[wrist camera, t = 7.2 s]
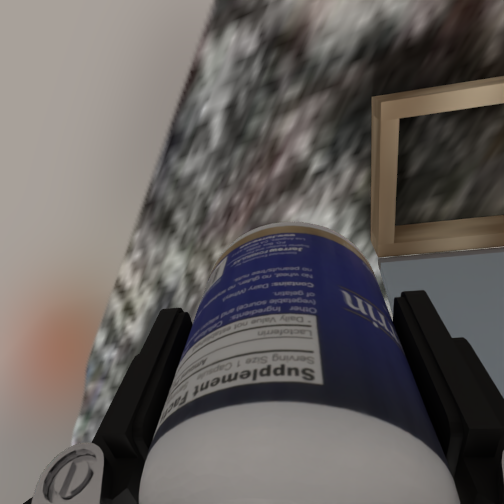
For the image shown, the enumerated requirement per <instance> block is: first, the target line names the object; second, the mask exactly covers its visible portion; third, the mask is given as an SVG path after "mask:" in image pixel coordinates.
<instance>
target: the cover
mask: <svg viewBox="0 0 504 504" xmlns="http://www.w3.org/2000/svg"><path fill="white" fill-rule="evenodd" d="M378 265H379V269H380V272H381V276H382V279H383V283H384V286H385V290H386V293H387V297H388V300H389V304H390V307H391V310H392V314H393V307H394V298H395V297H401V292H403V291H416V290H424V291H425V292H426V293H427V295H428V296H429V298H430V300H431V302H432V303H433V305H434V307H435V309H436V310H437V312H438V314H439V316H440V318H441V319H442V321H443V323H444V325H445V326H446V328H447V330H448V332H449V333H450V335H451V337H452V338H458V337H464V338H465V339H467V341H468V342H469V343H470V344H471V346H472V348H473V349H474V351H475V353H476V354H477V356H478V357H479V359H480V361H481V362H482V364H483V366H484V367H485V369H486V370H487V372H488V374H489V375H490V377H491V379H492V380H493V382H494V383H495V385H496V387H497V388H498V390H499V392H500V393H501V395H502V396H503V398H504V247H501V248H490V249H479V250H467V251H456V252H445V253H434V254H422V255H411V256H400V257H389V258H379V259H378Z"/></svg>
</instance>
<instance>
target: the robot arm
mask: <svg viewBox="0 0 504 504" xmlns="http://www.w3.org/2000/svg"><path fill="white" fill-rule="evenodd" d="M393 324H394V327H395V329H396V332H397V334H398V337H399V340H400V343H401V345H402V347H403V350H404V353H405V355H406V358H407V360H408V363H409V366H410V368H411V371H412V373H413V376H414V379H415V381H416V384H417V386H418V389H419V392H420V394H421V397H422V399H423V402H424V405H425V407H426V410H427V412H428V415H429V417H430V420H431V422H432V425H433V427H434V430H435V432H436V434H437V437H438V439H439V442H440V444H441V447H442V449H443V452H444V455H445V457H446V460H447V462H448V465H449V468H450V471H451V473H452V476H453V479H454V483H455V486H456V489H457V493H458V496H459V500H460V504H504V398H503V396H502V395H501V393H500V392H499V390H498V388H497V387H496V385H495V383H494V382H493V380H492V379H491V377H490V375H489V374H488V372H487V370H486V369H485V367H484V366H483V364H482V362H481V361H480V359H479V357H478V356H477V354H476V353H475V351H474V349H473V348H472V346H471V344H470V343H469V342H468V341H467V339H465V338H464V337H458V338H452V337H451V335H450V333H449V332H448V330H447V328H446V326H445V325H444V323H443V321H442V319H441V318H440V316H439V314H438V312H437V310H436V309H435V307H434V305H433V303H432V302H431V300H430V298H429V296H428V295H427V293H426V292H425V291H424V290H416V291H403V292H401V297H395V298H394V307H393ZM191 328H192V321H191V318H190V315H189V313H188V312H183V310H182V309H181V308H170V309H162V310H161V311H160V313H159V315H158V317H157V319H156V321H155V323H154V325H153V327H152V329H151V331H150V333H149V336H148V338H147V340H146V342H145V344H144V346H143V348H142V350H141V352H140V354H138V355H137V356H135V358H134V359H133V361H132V363H131V365H130V367H129V369H128V371H127V373H126V375H125V377H124V379H123V381H122V383H121V385H120V387H119V389H118V391H117V393H116V395H115V397H114V399H113V401H112V403H111V405H110V407H109V409H108V411H107V413H106V415H105V417H104V419H103V421H102V423H101V425H100V427H99V429H98V431H97V433H96V435H95V437H94V439H93V441H92V443H87V442H85V443H80V444H76V445H73V446H71V447H69V448H67V449H65V450H64V451H63V452H61V453H60V454H58V455H57V456H56V457H55V458H54V459H53V460H52V461H51V462H50V463H49V464H48V465H47V467H46V468H45V469H44V471H43V472H42V474H41V475H40V478H39V480H38V483H37V485H36V488H35V492H34V495H33V497H32V498H30V499H29V500H28V501H26V502H25V503H23V504H139V489H140V481H141V477H142V473H143V469H144V464H145V461H146V458H147V455H148V451H149V447H150V445H151V442H152V440H153V437H154V434H155V431H156V428H157V426H158V423H159V420H160V417H161V414H162V411H163V409H164V405H165V403H166V400H167V397H168V394H169V391H170V388H171V385H172V383H173V380H174V377H175V374H176V371H177V368H178V365H179V362H180V359H181V356H182V354H183V351H184V348H185V346H186V343H187V340H188V337H189V334H190V331H191Z"/></svg>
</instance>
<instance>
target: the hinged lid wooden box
mask: <svg viewBox="0 0 504 504" xmlns="http://www.w3.org/2000/svg"><path fill="white" fill-rule="evenodd" d="M501 103H504V76H500V77H494V78H487V79H481V80H475V81H468V82H462V83H456V84H449V85H443V86H437V87H430V88H424V89H418V90H412V91H405V92H399V93H393V94H386V95H380V96H374V97H372V123H371V242H372V244H373V246H374V249H375V251H376V253H377V256H378V257H389V256H400V255H411V254H422V253H433V252H445V251H456V250H467V249H478V248H490V247H501V246H504V215H497V216H487V217H477V218H467V219H458V220H448V221H438V222H428V223H418V224H408V225H399V226H395V209H396V185H397V162H398V139H399V118H406V117H413V116H420V115H426V114H433V113H440V112H447V111H454V110H460V109H467V108H474V107H481V106H487V105H494V104H501Z"/></svg>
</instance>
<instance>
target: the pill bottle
mask: <svg viewBox="0 0 504 504" xmlns="http://www.w3.org/2000/svg"><path fill="white" fill-rule="evenodd" d="M139 504H460V500H459V496H458V493H457V489H456V486H455V483H454V479H453V476H452V473H451V471H450V468H449V465H448V462H447V460H446V457H445V455H444V452H443V449H442V447H441V444H440V442H439V439H438V437H437V434H436V432H435V430H434V427H433V425H432V422H431V420H430V417H429V415H428V412H427V410H426V407H425V405H424V402H423V399H422V397H421V394H420V392H419V389H418V386H417V384H416V381H415V379H414V376H413V373H412V371H411V368H410V366H409V363H408V360H407V358H406V355H405V353H404V350H403V347H402V345H401V343H400V340H399V337H398V334H397V332H396V329H395V327H394V324H393V322H392V319H391V316H390V314H389V311H388V309H387V306H386V303H385V301H384V298H383V296H382V293H381V290H380V288H379V285H378V282H377V280H376V277H375V275H374V272H373V270H372V268H371V266H370V264H369V262H368V260H367V259H366V258H365V256H364V255H363V254H362V252H361V251H360V250H359V249H358V248H357V247H356V246H355V245H354V244H353V243H352V242H351V241H349V240H348V239H347V238H345V237H344V236H342V235H340V234H339V233H337V232H335V231H333V230H331V229H328V228H326V227H323V226H319V225H315V224H310V223H303V222H281V223H273V224H269V225H265V226H262V227H259V228H256V229H254V230H252V231H250V232H248V233H246V234H244V235H242V236H241V237H239V238H238V239H237V240H235V241H234V242H233V243H232V244H231V245H230V246H229V247H228V248H227V249H226V250H225V251H224V252H223V253H222V254H221V255H220V257H219V259H218V260H217V262H216V264H215V266H214V268H213V270H212V272H211V274H210V277H209V279H208V282H207V285H206V288H205V291H204V294H203V297H202V299H201V302H200V305H199V308H198V311H197V314H196V316H195V319H194V322H193V325H192V328H191V331H190V334H189V337H188V340H187V343H186V346H185V348H184V351H183V354H182V356H181V359H180V362H179V365H178V368H177V371H176V374H175V377H174V380H173V383H172V385H171V388H170V391H169V394H168V397H167V400H166V403H165V405H164V409H163V411H162V414H161V417H160V420H159V423H158V426H157V428H156V431H155V434H154V437H153V440H152V442H151V445H150V447H149V451H148V455H147V458H146V461H145V464H144V469H143V473H142V477H141V481H140V489H139Z"/></svg>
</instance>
